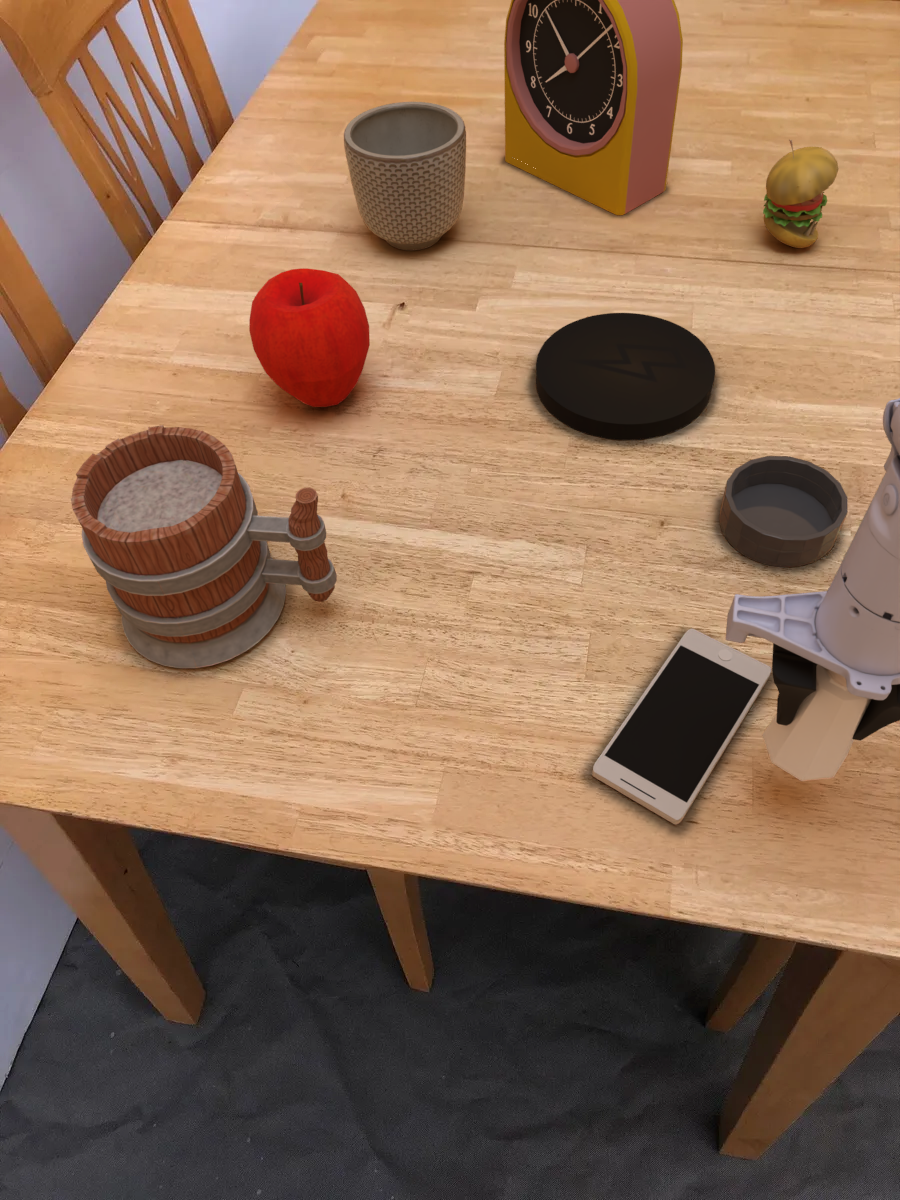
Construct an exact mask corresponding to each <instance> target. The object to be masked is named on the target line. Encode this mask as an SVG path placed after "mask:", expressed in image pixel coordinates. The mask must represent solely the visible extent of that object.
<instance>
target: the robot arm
mask: <svg viewBox="0 0 900 1200" xmlns="http://www.w3.org/2000/svg"><path fill="white" fill-rule="evenodd" d="M882 427H883V432H884V433H885V436H886V438H887V440H888V442H889V444H890V452H889V454H888V456H887V458H886V460H885V462H884V465H883V469H884V471H885V473H884V475H883V476H882V478H881V481H880V483H879V485H878V487H877V488H876V491H875V493H874V495H873V497H872V499H871V501H870V503H869V505H868V507H867V509H866V511H865V513H864V514H863V518H862V519H861V522H860V523H859V526H858V528H857V529H856V532H855V534H854V536H853V538H852V540H851V542H850V544H849V546H848V548H847V550H846V552H845V554H844V556H843V558H842V560H841V563H840V564H839V566H838V569H837V571H836V572H835V575H834V577H833V579H832V581H831V583H830V585H829V587H828V589H827V590H822V591H821V590H820V591H812V592H811V591H810V592H800V593H789V594H788V593H787V594H779V595H777V594H776V595H762V596H761V595H755V596H754V595H745V594H738V593H735V594H734V596H733V598H732V601H731V603H730V607H729V609H728V613H727V615H726V627H725V640H726V641H727V642H732V643H736V644H737V643H738V644H744V643H745V642H746V640H747V637H753V638H759V639H764V640H766V641H768V642H770V643H772V659H771V660H772V661H771V675H772V680H773V685H775V687H776V689H777V691H778V695H777V699H776V700H777V701H776V702H777V703H776V713H777V721H776V722H777V723H778V724H780V725H785V726H787V725H789V724H791V722H792V721H793V719H794V717H795V715H796V712H797V710H798V708H799V706H800V704H801V703H802V702H803V701H804V700H805V699H806V697H807V696H809V695H810V694H811V693H813V692H815V691H816V666H817V665H820V666H822V667H824V668H827V669H829V670H831V671H833V672H835V673H837V674H839V675H841V676H843V677H844V678H845V679H846V686H847V689H848V691H849V692H850V693H851V694H853V695H855V696H859V697H864V698H869V699H871V701H870V703H869V705H868V707H867V709H866V711H865V713H864V715H863V717H862V719H861V721H860V723H859V725H858V727H857V729H856V731H855V733H854V736H853V738H852V739H854V741H855V740H856V741H859V742H861V741H863V740H864V739H866V738H868V737H870V736H871V735H873V734H874V733H876V732H878V731H879V730H882V729H883V728H886V727H887V726H889V725H891V724H894V723H896V722H900V397H899V398H896V399H890V400H888V402H886V405H885V407H884V410H883V414H882Z"/></svg>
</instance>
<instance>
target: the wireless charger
mask: <svg viewBox="0 0 900 1200" xmlns="http://www.w3.org/2000/svg"><path fill="white" fill-rule="evenodd" d="M715 377H716V365H715V361H714V358H713V355H712V353H711V352H710V350H709V348H708V347H707V346H706V344H705V343H704V342H703V341H702V340H701V339H700V338H699V337H698V336H696V334H695V333H693V332H691V331H690V330H689V329H687V328H685V327H683V326H681V325H679V324H677V323H675V322H672V321H670V320H667V319H664V318H661V317H657V316H653V315H649V314H643V313H634V312H609V313H602V314H594V315H589V316H587V317H583V318H579V319H577V320H574V321H572V322H570V323H568V324H565V325H564V326H562V327H560V328H559V329H557V330H556V331H555V332H553V333H552V334H551V335H550V336H549V337H548V338H547V339H546V340H545V342H544V343H543V344H542V345H541V347H540V349H539V352H538V354H537V357H536V362H535V388H536V393H537V395H538V398H539V399H540V401H541V403H542V406H544V407H545V409H546V410H547V411H548V412H549V413H550V414H551V415H552V416H553V417H554V418H555V419H556V420H558V421H559V422H560V423H563V424H564V425H566V426H567V427H570V428H571V429H573V430H576V431H578V432H581V433H583V434H585V435H586V434H587V435H589V436H593V437H598V438H601V439H607V440H614V441H615V440H616V441H639V440H648V439H654V438H658V437H663V436H666V435H669V434H672V433H674V432H676V431H679V430H681V429H682V428H684V427H687V426H688V425H689V424H691V423H692V422H693V421H695V420H696V419H697V418H698V417H699V416H700V415H702V413H703V412H704V410H705V409H706V407H707V406H708V404H709V403H710V399H711V397H712V391H713V388H714V387H713V386H714V383H715Z"/></svg>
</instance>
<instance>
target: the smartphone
mask: <svg viewBox="0 0 900 1200" xmlns="http://www.w3.org/2000/svg"><path fill="white" fill-rule="evenodd" d="M771 674H772V666H770V665H768V664H766V663H764V662H762V661H761V660H758V659H756V658H754V657H752V656H750V655H748V654H746V653H744V652H741V651H739V650H738V649H735V648H733V647H732V646H729V645H727V644H725V643H723V642H721V641H719V640H718V639H715V638H714V637H711V636H709V635H707V634H705V633H703V632H701V631H699V630H697V629H695V628H689V629H688V630H686V631H685V632H684V634H683V636H682V637H681V638H680V640H679V641H678V643H677V644H676V646H674V648H673V649H672V651H671V653H670V654H669V655H668V657H667V659H666V660H665V661H664V663H663V664H662V665H661V667H660V668H659V670H658V672H657V673H656V675H655V676H654V677H653V678H652V680H651V681H650V683H649V684H648V686H647V687H646V689H644V691H643V693H642V694H641V696H640V697H639V699H638V701H636V703H635V705H633V707H632V709H631V710H630V712H629V714H628V715H627V716H626V718H625V719H624V720H623V722H622V723H621V725H620V726H619V728H618V729H617V730H616V732H615V733H614V735H613V736H612V738H611V739H610V741H609V742H608V743H607V744H606V747H604V749H603V751H602V752H601V754H600V755H599V756H598V758H597V760H596V761H595V762H594V764H593V766H592V771H591V775H592V777H593V778H595V779H596V780H599V781H600V782H601V783H603V784H605V785H607V786H608V787H610V788H612V789H614V790H615V791H617V792H619V793H620V794H622V795H624V796H626V798H629V799H631V800H633V801H634V802H635V803H637V804H639V805H640V806H642V807H644V808H646V809H647V810H649V811H651V812H652V813H655V814H656V815H657V816H659V817H661V818H662V819H664V820H666V821H668V822H670V823H671V824H673V825H679V824H680V823H682V821H683V819H684V818H685V817H686V815H687V813H688V811H689V810H690V808H691V807H692V805H693V803H694V802H695V800H696V799H697V797H698V795H699V793H700V792H701V790H702V788H703V787H704V785H705V783H706V782H707V780H708V779H709V777H710V776H711V774H712V773H713V770H714V769H715V767H716V765H717V764H718V762H719V761H720V759H721V758H722V756H723V754H724V752H725V751H726V749H727V747H728V746H729V744H730V743H731V741H732V739H733V738H734V736H735V735H736V732H737V731H738V730H739V728H740V726H741V724H742V723H743V721H744V719H746V716H747V715H748V713H749V711H750V709H751V708H752V706H753V705H754V703H755V701H756V700H757V698H758V697H759V695H760V694H761V691H762V690H763V688H764V686H765V685H766V683H767V681H768V680H769V678H770V676H771Z"/></svg>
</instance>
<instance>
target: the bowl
mask: <svg viewBox="0 0 900 1200" xmlns="http://www.w3.org/2000/svg"><path fill="white" fill-rule="evenodd" d="M848 500H849V499H848V496H847V494H846V492H845V490H844V488H843V485H842V484H841V483H840V481H838V479H837V478H836V477H834V475H832V474H831V473H830V472H829V470H826V469H825V468H823V467H821V466H820V465H817V464H815V463H813V462H811V461H809V460H807V459H806V460H805V459H802V458H798V457H793V456H789V455H766V456H762V457H757V458H753V459H750V460H748V461H746V462H745V463H743V464H741V465H740V466H738V467H737V468H735V469H734V470H733V472H732V473H731V474H730V476H729V477H728V479H727V480H726V483H725V487H724V491H723V495H722V499H721V503H720V510H719V515H718V516H719V517H718V521H719V527H720V530H721V533H722V535H723V536H724V538H725V539H726V541H727V542H728V543H729V545H730V546H732V548H734V549H735V550H736V551H737V552H738V553H740V554H742V555H743V556H744V557H747V558H748V559H751V560H753V561H755V562H757V563H760V564H763V565H767V566H772V567H780V568H795V567H802V566H806V565H809V564H812V563H815V562H817V561H819V560H821V559H822V558H824V557H825V556H826V555H827V554H828V553H829V552H830V551H831V550H832V548H833V546H834V544H835V543H836V541H837V538H838V537H839V534H840V532H841V529H842V527H843V525H844V523H845V520H846V518H847V515H848V511H849V509H848V507H849V504H848Z"/></svg>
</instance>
